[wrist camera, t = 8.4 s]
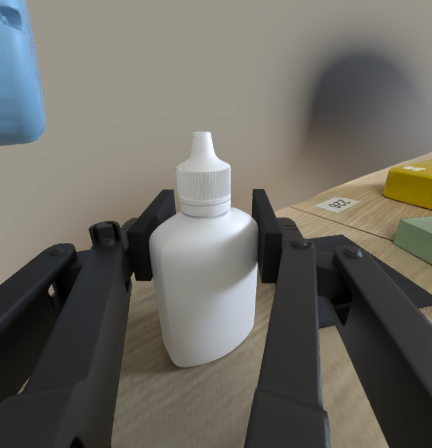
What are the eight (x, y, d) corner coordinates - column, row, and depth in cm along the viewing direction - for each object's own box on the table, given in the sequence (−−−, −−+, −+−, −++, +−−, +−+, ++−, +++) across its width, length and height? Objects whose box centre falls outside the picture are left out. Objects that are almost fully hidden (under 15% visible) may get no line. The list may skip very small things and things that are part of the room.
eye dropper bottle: (170, 311, 17) (146, 130, 12) (249, 308, 17) (258, 127, 12) (159, 371, 13) (116, 139, 8) (262, 367, 13) (283, 135, 8)
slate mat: (306, 331, 15) (307, 324, 15) (252, 250, 24) (253, 245, 24) (434, 305, 17) (438, 298, 17) (341, 239, 26) (342, 234, 26)
